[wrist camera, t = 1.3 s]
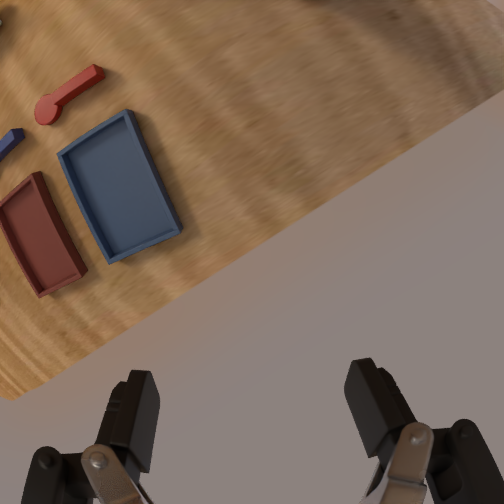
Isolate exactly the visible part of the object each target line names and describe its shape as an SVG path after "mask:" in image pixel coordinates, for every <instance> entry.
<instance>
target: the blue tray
mask: <svg viewBox="0 0 504 504" xmlns="http://www.w3.org/2000/svg"><path fill="white" fill-rule="evenodd" d="M57 156H58V159H59V161H60V164H61V166H62V169H63V171H64V174H65V176H66V179H67V181H68V183H69V186H70V188H71V190H72V193H73V195H74V197H75V199H76V201H77V204H78V206H79V208H80V210H81V212H82V214H83V216H84V218H85V220H86V222H87V224H88V226H89V228H90V230H91V232H92V234H93V236H94V238H95V240H96V242H97V244H98V246H99V248H100V250H101V251H102V253H103V255H104V257H105V259H106V260H107V262H108V264H109V265H110V264H112V263H114V262H116V261H119V260H121V259H123V258H125V257H127V256H130V255H132V254H134V253H136V252H139V251H141V250H143V249H145V248H148V247H150V246H152V245H155V244H157V243H159V242H162V241H164V240H166V239H169V238H171V237H173V236H176V235H178V234H180V233H181V231H182V229H183V226H182V224H181V222H180V220H179V218H178V216H177V214H176V211H175V209H174V207H173V205H172V203H171V201H170V198H169V196H168V194H167V192H166V189H165V187H164V185H163V183H162V181H161V178H160V176H159V174H158V171H157V169H156V167H155V165H154V162H153V160H152V158H151V155H150V153H149V151H148V148H147V146H146V143H145V141H144V139H143V136H142V134H141V131H140V129H139V126H138V124H137V122H136V119H135V117H134V114H133V112H132V110H129V109H125V110H123V111H121V112H119V113H118V114H116V115H114V116H113V117H111V118H109V119H108V120H106V121H104V122H103V123H101V124H99V125H98V126H96V127H95V128H93V129H91V130H90V131H88V132H87V133H85V134H84V135H82V136H81V137H79V138H78V139H76V140H75V141H73V142H72V143H71V144H69V145H68V146H66V147H65V148H64V149H62V150H61V151H60V152H58V153H57Z"/></svg>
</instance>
